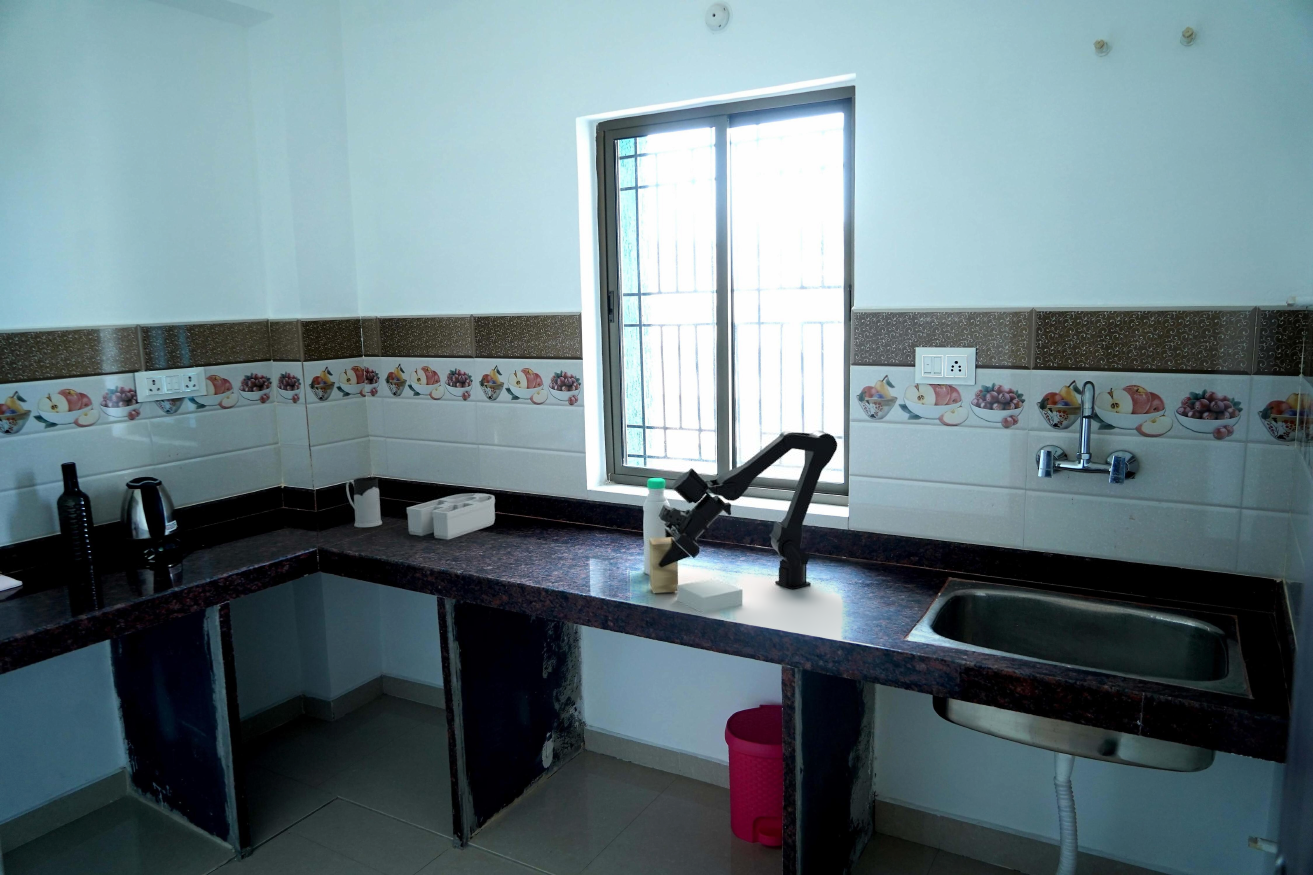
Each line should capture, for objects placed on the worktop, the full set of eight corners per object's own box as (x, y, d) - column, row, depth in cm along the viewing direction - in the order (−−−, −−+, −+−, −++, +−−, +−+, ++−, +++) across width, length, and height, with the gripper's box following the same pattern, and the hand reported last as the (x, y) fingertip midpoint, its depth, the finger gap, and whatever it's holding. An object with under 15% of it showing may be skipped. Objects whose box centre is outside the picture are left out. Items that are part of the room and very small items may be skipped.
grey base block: (715, 593, 215) (715, 577, 214) (742, 605, 205) (742, 589, 205) (677, 601, 209) (677, 585, 208) (703, 614, 200) (703, 597, 199)
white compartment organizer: (407, 534, 275) (406, 507, 274) (467, 516, 300) (466, 491, 298) (448, 540, 267) (446, 513, 266) (506, 521, 292) (505, 496, 290)
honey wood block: (674, 583, 219) (673, 536, 217) (678, 591, 213) (677, 543, 211) (650, 585, 218) (649, 538, 216) (653, 592, 212) (652, 544, 210)
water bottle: (672, 575, 228) (672, 480, 225) (646, 577, 227) (644, 482, 224) (668, 567, 235) (667, 476, 232) (642, 569, 234) (640, 477, 231)
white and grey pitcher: (366, 528, 283) (363, 482, 281) (337, 523, 291) (335, 478, 289) (387, 522, 290) (385, 478, 288) (359, 517, 298) (357, 474, 296)
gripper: (672, 486, 222) (629, 531, 222) (685, 502, 203) (638, 551, 203) (703, 515, 224) (661, 560, 224) (718, 533, 206) (673, 581, 206)
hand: (657, 562), depth 214 cm, fingers closed on honey wood block, 6 cm apart
